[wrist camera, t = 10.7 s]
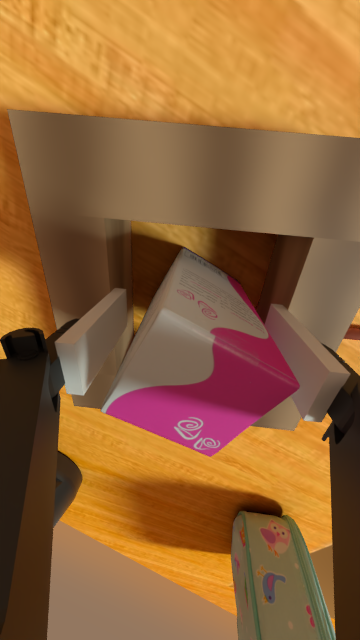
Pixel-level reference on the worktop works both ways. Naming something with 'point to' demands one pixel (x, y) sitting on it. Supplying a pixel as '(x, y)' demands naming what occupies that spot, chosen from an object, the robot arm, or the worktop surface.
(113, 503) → the worktop surface
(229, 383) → the supplement box
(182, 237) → the worktop surface
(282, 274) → the brown wooden square frame
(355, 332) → the reddish-brown thin rod
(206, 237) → the worktop surface
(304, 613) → the lunch box
